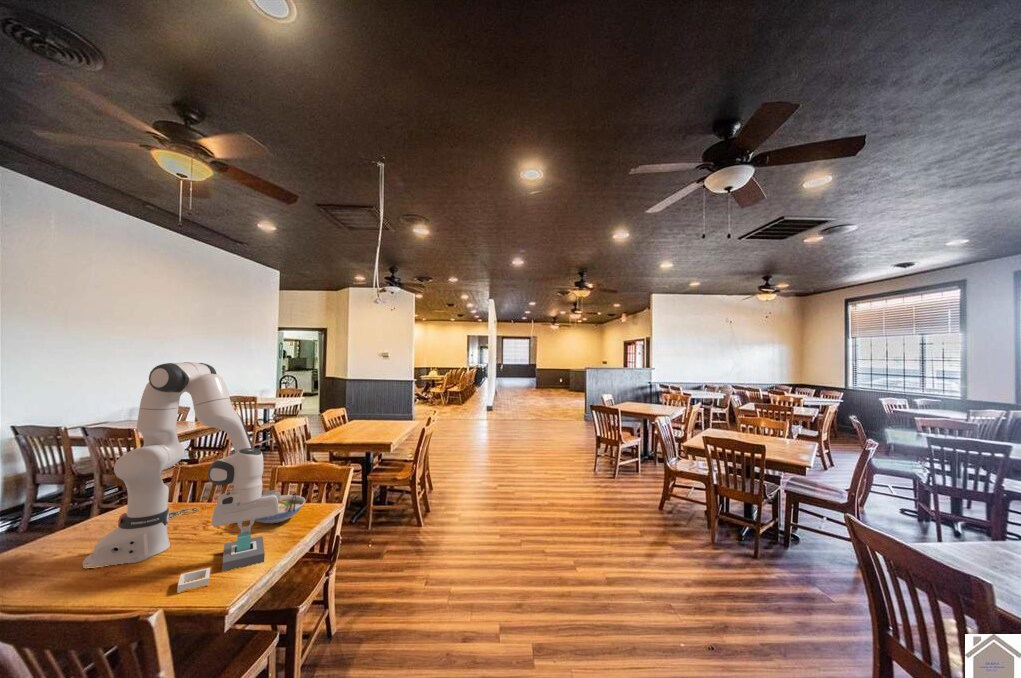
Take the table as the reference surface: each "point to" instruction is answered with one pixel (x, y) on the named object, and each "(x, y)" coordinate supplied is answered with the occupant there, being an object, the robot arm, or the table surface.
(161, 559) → the table surface
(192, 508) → the knife
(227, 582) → the table surface
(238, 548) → the plug
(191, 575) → the white square frame
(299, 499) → the ramen bowl
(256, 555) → the socket block
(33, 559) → the table surface
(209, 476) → the robot arm
